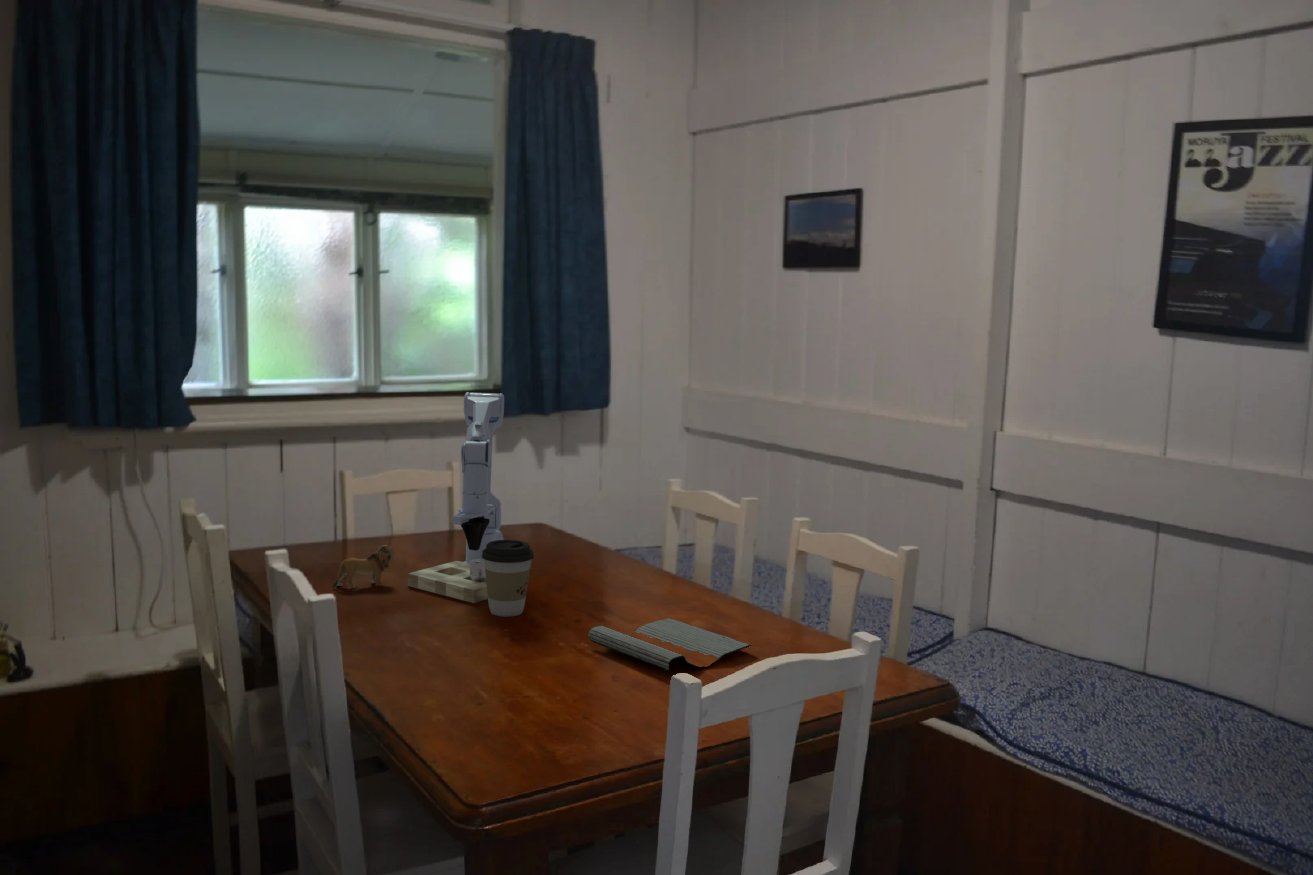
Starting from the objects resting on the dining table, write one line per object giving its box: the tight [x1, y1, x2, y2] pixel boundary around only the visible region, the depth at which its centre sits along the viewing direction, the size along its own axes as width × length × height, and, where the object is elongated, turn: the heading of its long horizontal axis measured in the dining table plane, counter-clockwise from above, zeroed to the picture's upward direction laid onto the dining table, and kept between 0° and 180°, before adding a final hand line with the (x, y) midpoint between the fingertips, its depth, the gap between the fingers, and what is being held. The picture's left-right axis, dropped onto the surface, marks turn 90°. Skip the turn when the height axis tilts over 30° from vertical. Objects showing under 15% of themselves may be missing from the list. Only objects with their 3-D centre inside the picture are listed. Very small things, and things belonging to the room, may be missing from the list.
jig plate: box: [407, 560, 488, 604], centre depth 236 cm, size 16×21×3 cm
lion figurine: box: [331, 544, 395, 589], centre depth 234 cm, size 15×5×9 cm, turn 128°
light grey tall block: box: [470, 559, 486, 583], centre depth 234 cm, size 4×4×7 cm
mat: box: [587, 617, 753, 674], centre depth 198 cm, size 23×24×5 cm
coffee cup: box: [481, 539, 535, 618], centre depth 218 cm, size 11×11×15 cm
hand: (474, 549), depth 234 cm, fingers closed
